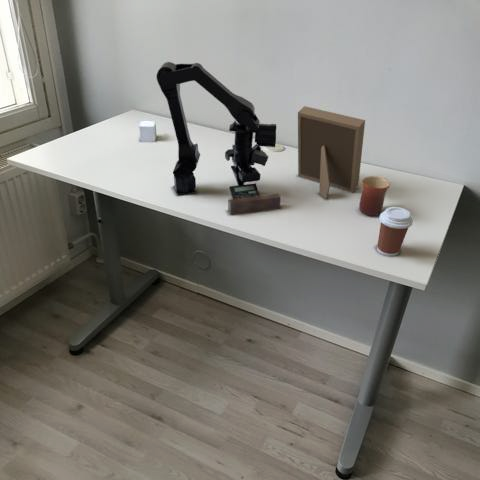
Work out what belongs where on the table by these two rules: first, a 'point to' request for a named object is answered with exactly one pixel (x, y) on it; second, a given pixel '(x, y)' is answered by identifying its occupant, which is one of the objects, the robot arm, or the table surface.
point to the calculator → (244, 191)
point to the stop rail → (254, 204)
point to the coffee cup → (393, 230)
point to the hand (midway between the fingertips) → (240, 188)
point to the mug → (373, 195)
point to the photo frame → (329, 149)
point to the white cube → (147, 131)
